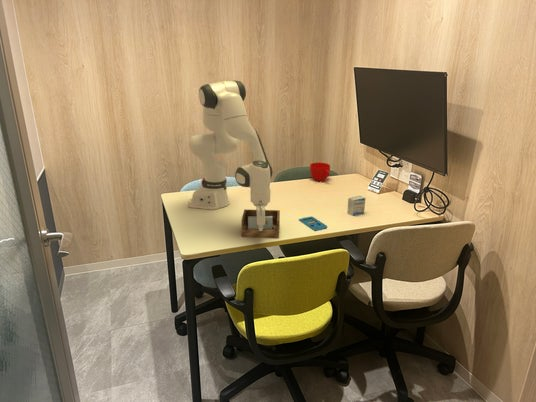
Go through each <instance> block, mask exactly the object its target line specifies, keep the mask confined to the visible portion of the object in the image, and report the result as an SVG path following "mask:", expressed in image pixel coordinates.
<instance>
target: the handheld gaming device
mask: <svg viewBox="0 0 536 402" xmlns="http://www.w3.org/2000/svg"><path fill="white" fill-rule="evenodd" d="M298 221H299V222H300V223H302V224H304V225H305V226H306V227H308V228H309V229H311V230H312V231H314V232H318V231H322V230H327V228H328V226H327V224H325V223H324V222H321V221H320V219H319V220H318V219H317V218H315V216H307V217H302V218H298Z"/></svg>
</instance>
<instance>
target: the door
mask: <svg viewBox="0 0 536 402" xmlns="http://www.w3.org/2000/svg"><path fill="white" fill-rule="evenodd" d="M248 229H259V225H257V217H256V216H248ZM263 230H272V216H265V225H263Z"/></svg>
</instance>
